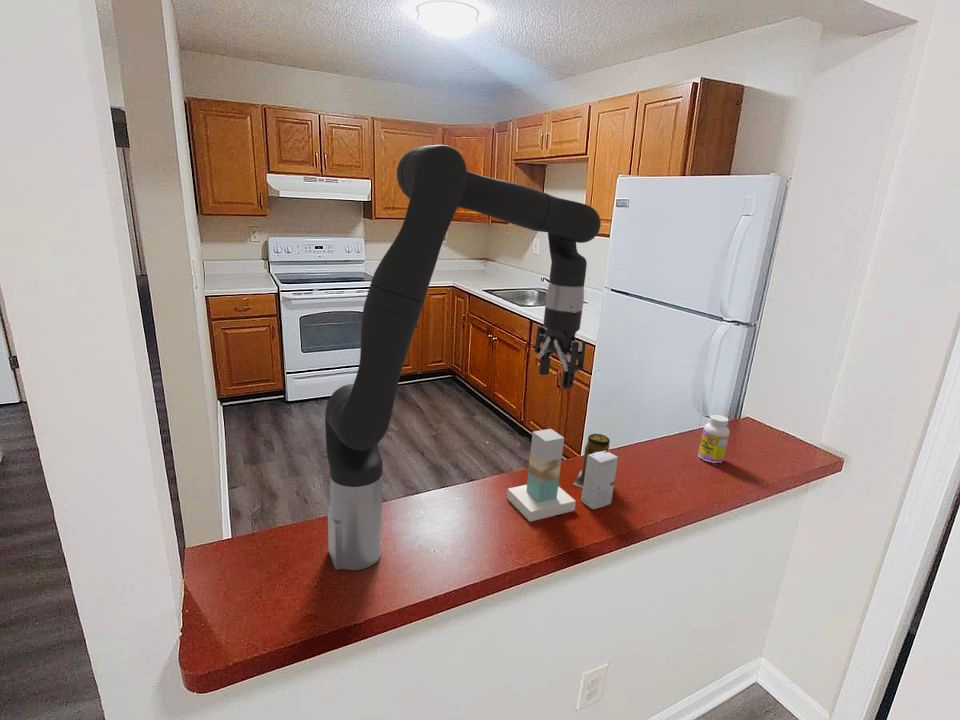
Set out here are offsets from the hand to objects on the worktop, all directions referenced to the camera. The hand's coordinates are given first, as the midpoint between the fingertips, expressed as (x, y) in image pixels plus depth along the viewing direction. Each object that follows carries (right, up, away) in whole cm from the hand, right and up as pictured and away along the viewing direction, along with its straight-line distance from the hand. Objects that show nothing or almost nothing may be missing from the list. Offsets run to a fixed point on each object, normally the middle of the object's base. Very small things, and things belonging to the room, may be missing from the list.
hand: (554, 380), depth 112 cm
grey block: (-1, -17, +5) cm, 18 cm away
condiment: (+12, -26, +20) cm, 36 cm away
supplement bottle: (+49, -24, +37) cm, 66 cm away
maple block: (-2, -21, +7) cm, 23 cm away
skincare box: (+11, -29, +11) cm, 33 cm away
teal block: (-2, -26, +8) cm, 28 cm away
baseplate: (-2, -29, +9) cm, 30 cm away
